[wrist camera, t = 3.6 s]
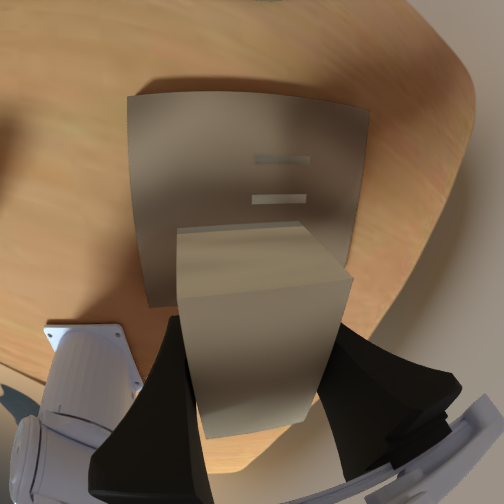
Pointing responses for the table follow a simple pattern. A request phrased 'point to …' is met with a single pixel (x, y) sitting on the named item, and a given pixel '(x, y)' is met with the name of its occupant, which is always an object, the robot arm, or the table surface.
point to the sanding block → (257, 321)
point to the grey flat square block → (239, 170)
